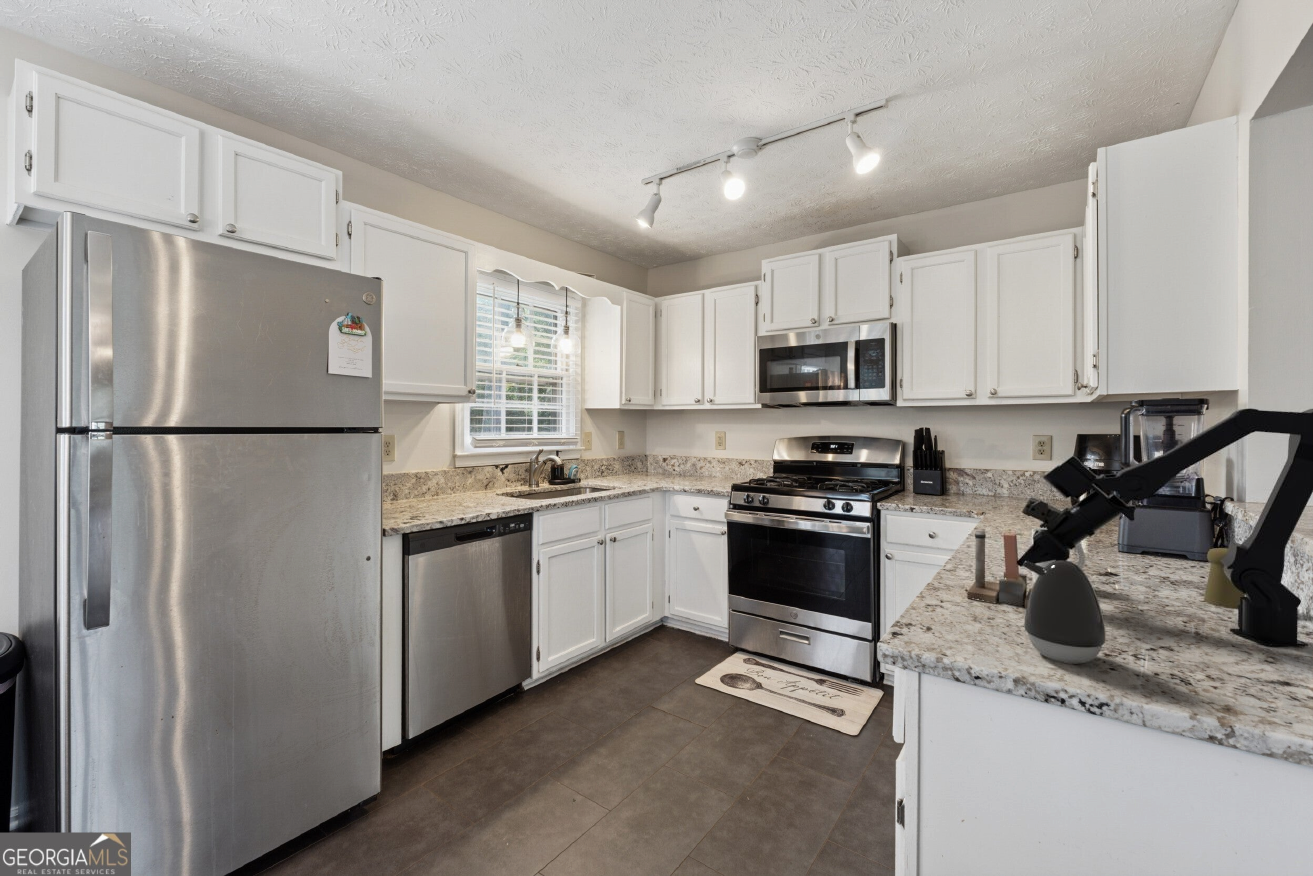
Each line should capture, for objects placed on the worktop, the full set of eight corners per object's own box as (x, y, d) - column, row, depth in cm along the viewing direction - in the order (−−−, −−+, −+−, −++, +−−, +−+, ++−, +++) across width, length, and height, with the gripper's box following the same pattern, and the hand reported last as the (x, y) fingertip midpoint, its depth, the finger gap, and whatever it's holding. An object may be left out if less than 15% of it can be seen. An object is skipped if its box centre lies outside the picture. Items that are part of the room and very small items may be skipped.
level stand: (1059, 599, 115) (1059, 534, 114) (1055, 613, 106) (1056, 543, 106) (976, 586, 124) (976, 526, 124) (967, 598, 115) (967, 534, 115)
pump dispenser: (1026, 639, 94) (1027, 550, 93) (1105, 654, 87) (1106, 559, 87) (1018, 659, 86) (1019, 561, 86) (1104, 677, 79) (1105, 572, 79)
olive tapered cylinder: (1227, 599, 113) (1228, 545, 113) (1256, 609, 107) (1257, 552, 107) (1195, 598, 114) (1195, 545, 114) (1222, 608, 108) (1223, 552, 108)
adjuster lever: (1026, 595, 115) (1022, 533, 115) (1024, 600, 112) (1020, 536, 112) (1003, 593, 118) (1000, 532, 118) (1001, 597, 115) (997, 535, 115)
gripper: (1054, 481, 118) (993, 527, 125) (1047, 490, 103) (979, 541, 110) (1100, 522, 113) (1035, 567, 120) (1101, 537, 98) (1026, 587, 106)
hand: (1018, 564), depth 114 cm, fingers closed, pressing on adjuster lever
